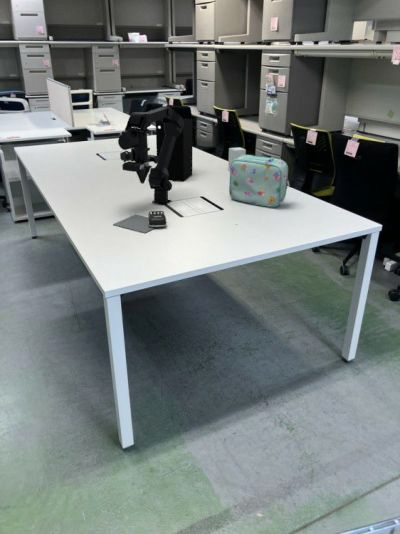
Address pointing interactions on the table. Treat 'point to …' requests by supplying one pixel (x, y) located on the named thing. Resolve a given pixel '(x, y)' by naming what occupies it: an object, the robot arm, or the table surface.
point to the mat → (135, 223)
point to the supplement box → (235, 154)
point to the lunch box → (258, 180)
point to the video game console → (178, 151)
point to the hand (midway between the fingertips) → (142, 183)
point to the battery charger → (156, 219)
